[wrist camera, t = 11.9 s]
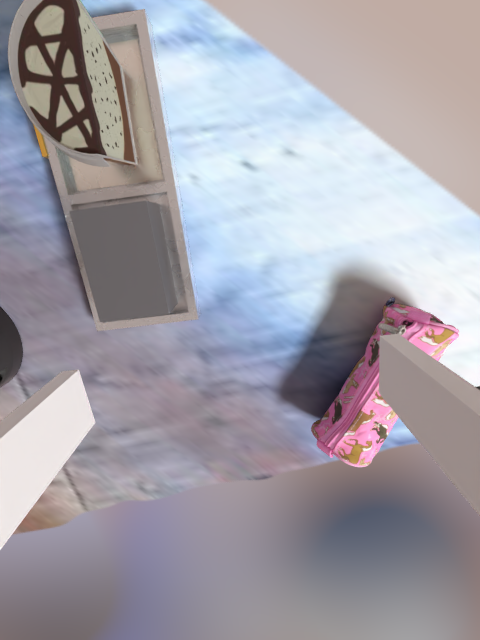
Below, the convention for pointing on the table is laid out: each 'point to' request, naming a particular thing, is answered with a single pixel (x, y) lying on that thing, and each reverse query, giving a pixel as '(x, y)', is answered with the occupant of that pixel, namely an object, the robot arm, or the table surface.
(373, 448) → the pencil case
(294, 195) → the table surface
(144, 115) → the rack
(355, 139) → the table surface
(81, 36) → the food container
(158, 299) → the grey rectangular box
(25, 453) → the robot arm
